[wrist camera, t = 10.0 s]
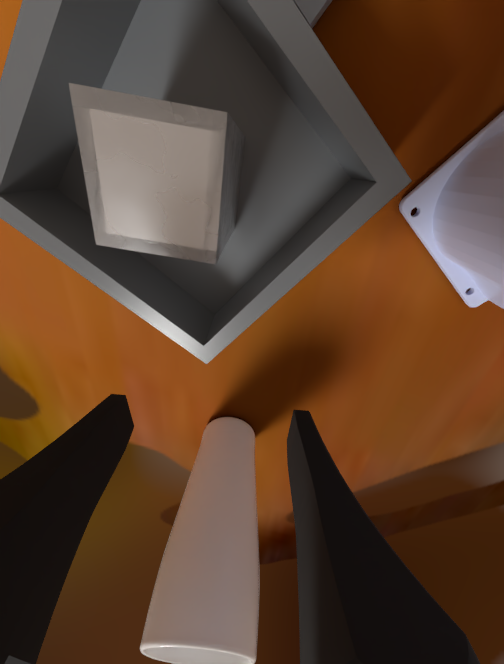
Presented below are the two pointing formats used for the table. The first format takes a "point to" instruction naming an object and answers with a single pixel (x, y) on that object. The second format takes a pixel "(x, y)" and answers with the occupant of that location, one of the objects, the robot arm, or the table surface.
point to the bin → (207, 92)
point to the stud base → (312, 9)
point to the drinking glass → (211, 559)
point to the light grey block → (158, 173)
